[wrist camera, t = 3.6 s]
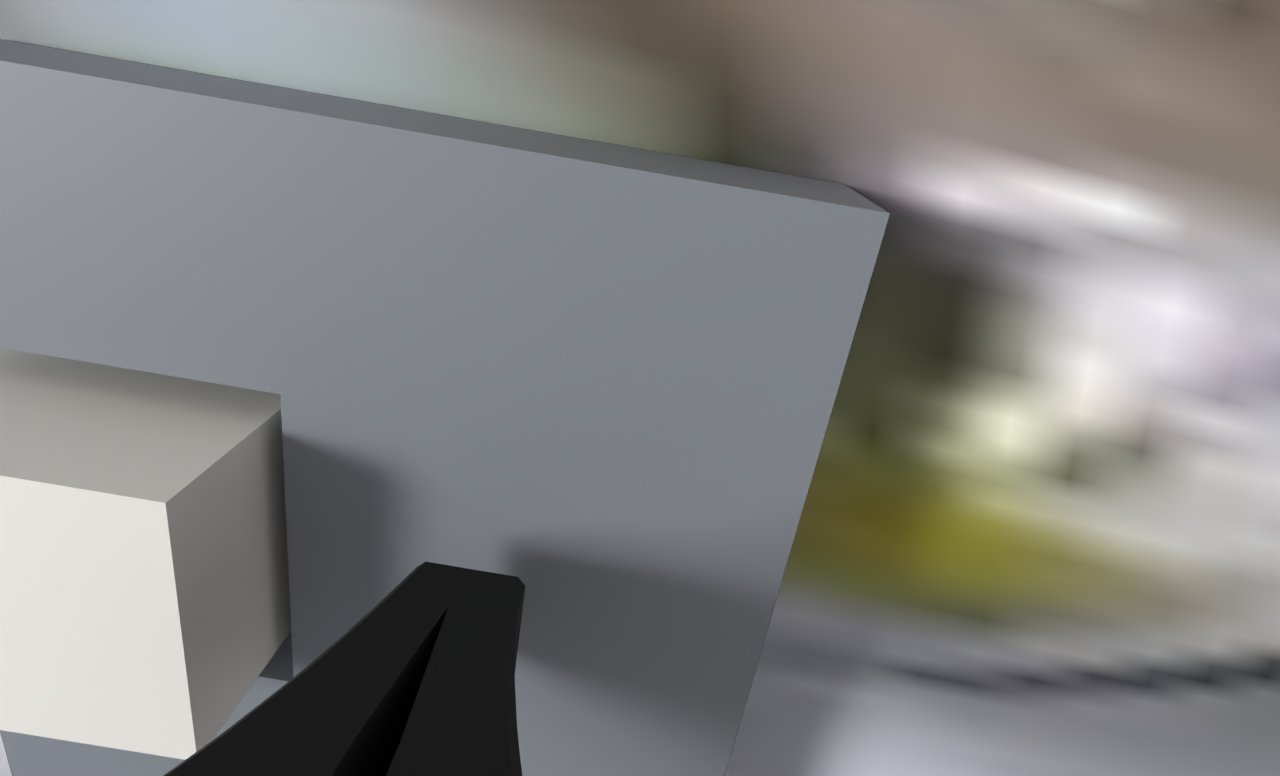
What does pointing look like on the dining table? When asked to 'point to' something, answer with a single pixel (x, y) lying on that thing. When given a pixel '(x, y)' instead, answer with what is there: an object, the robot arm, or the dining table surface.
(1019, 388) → the dining table surface
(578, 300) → the slate notch board
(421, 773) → the robot arm
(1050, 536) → the dining table surface
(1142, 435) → the dining table surface
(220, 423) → the cream block
